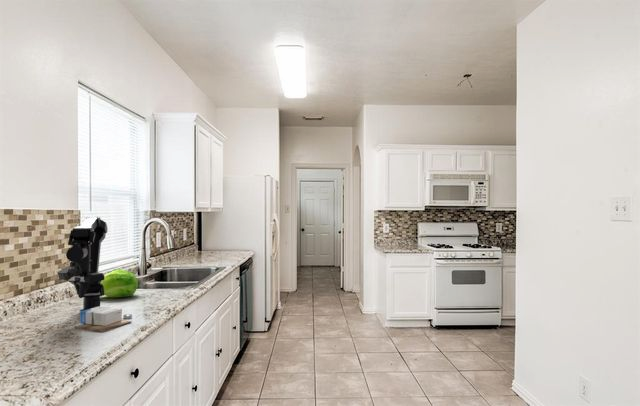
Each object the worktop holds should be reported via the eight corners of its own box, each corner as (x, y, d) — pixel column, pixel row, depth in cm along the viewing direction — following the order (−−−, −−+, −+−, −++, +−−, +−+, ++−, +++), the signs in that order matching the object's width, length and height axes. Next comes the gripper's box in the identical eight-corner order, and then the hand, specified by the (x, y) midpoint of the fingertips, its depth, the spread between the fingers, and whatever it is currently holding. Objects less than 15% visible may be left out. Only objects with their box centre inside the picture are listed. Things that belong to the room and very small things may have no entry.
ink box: (79, 323, 143) (104, 326, 140) (80, 310, 143) (104, 313, 140) (98, 318, 152) (122, 320, 148) (99, 305, 152) (122, 308, 149)
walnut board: (74, 327, 141) (74, 326, 141) (105, 318, 153) (105, 317, 153) (101, 332, 136) (101, 330, 136) (131, 322, 148) (131, 321, 148)
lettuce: (86, 307, 181) (97, 303, 195) (135, 294, 186) (143, 292, 201) (81, 277, 182) (92, 276, 197) (130, 265, 188) (138, 265, 202)
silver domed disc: (121, 319, 154) (121, 315, 154) (128, 317, 156) (128, 313, 157) (127, 319, 152) (127, 316, 152) (133, 317, 155) (133, 314, 155)
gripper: (45, 259, 145) (44, 300, 145) (78, 262, 139) (77, 304, 138) (73, 256, 156) (72, 294, 155) (105, 259, 149) (104, 298, 149)
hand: (81, 297), depth 149 cm, fingers closed
